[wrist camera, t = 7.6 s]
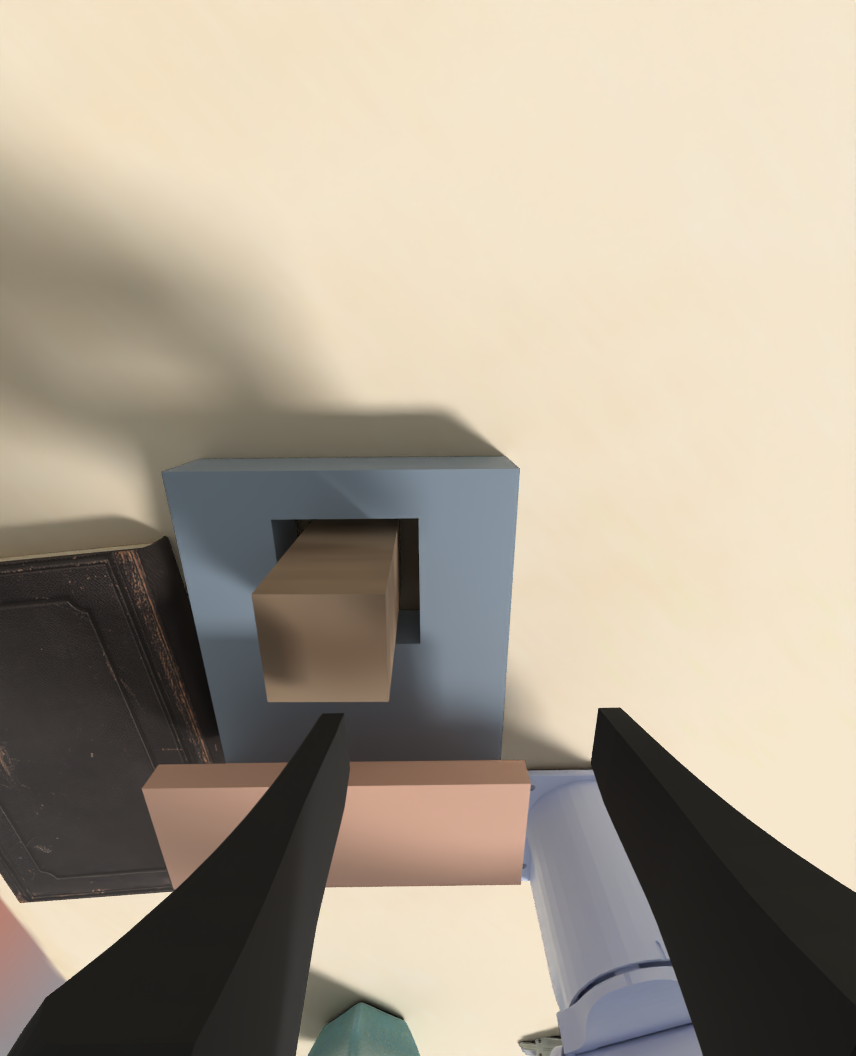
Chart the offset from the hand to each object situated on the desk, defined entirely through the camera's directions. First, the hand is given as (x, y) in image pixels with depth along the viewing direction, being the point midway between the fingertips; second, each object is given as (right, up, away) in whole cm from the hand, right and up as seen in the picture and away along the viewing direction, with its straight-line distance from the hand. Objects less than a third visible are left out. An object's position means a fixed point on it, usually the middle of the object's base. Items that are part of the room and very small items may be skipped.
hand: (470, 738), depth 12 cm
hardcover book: (-21, -6, +13) cm, 25 cm away
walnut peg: (-5, +5, +9) cm, 11 cm away
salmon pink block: (-5, -4, +9) cm, 11 cm away
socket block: (-5, +2, +10) cm, 11 cm away
